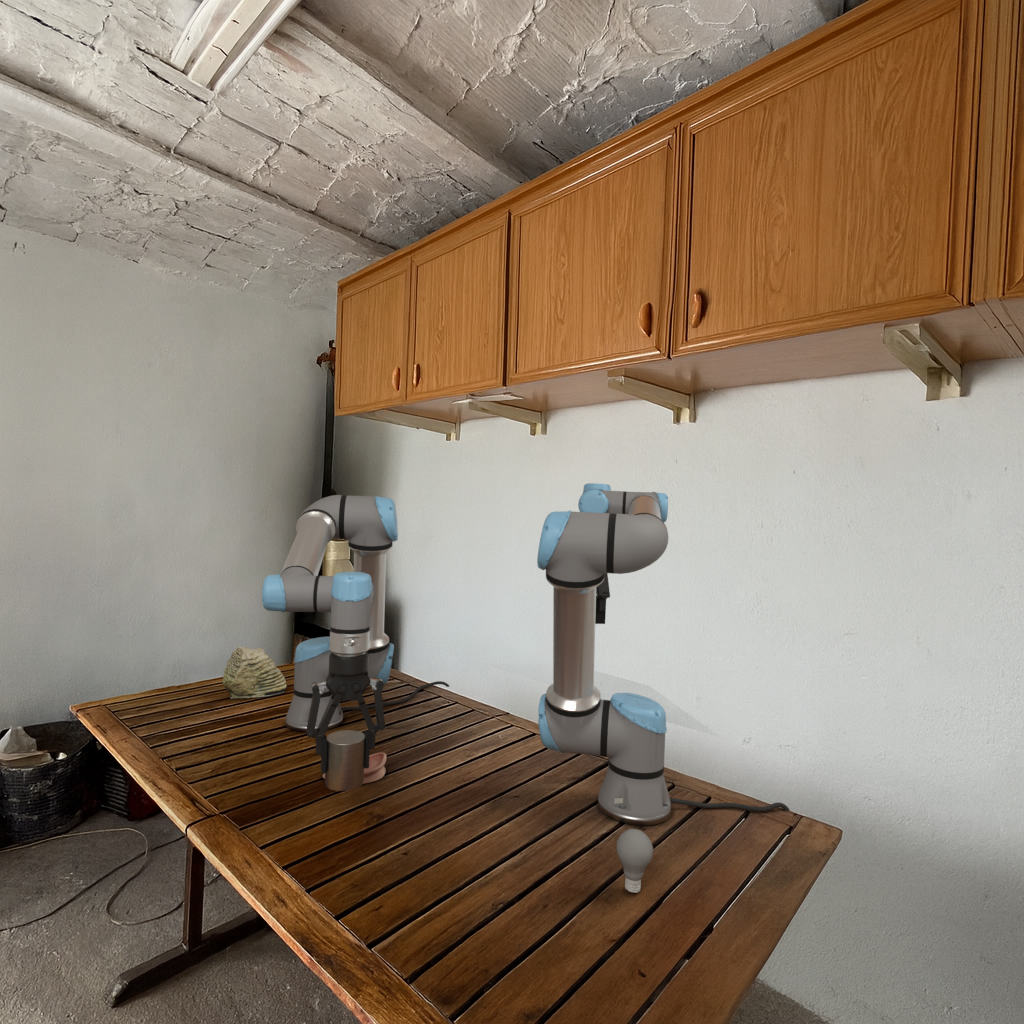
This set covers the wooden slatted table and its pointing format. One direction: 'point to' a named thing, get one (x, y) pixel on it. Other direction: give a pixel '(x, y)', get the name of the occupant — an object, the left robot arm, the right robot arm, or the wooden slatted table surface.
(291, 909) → the wooden slatted table surface
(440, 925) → the wooden slatted table surface
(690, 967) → the wooden slatted table surface
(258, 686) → the fossil
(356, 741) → the canister
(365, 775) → the anatomical model
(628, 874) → the light bulb
